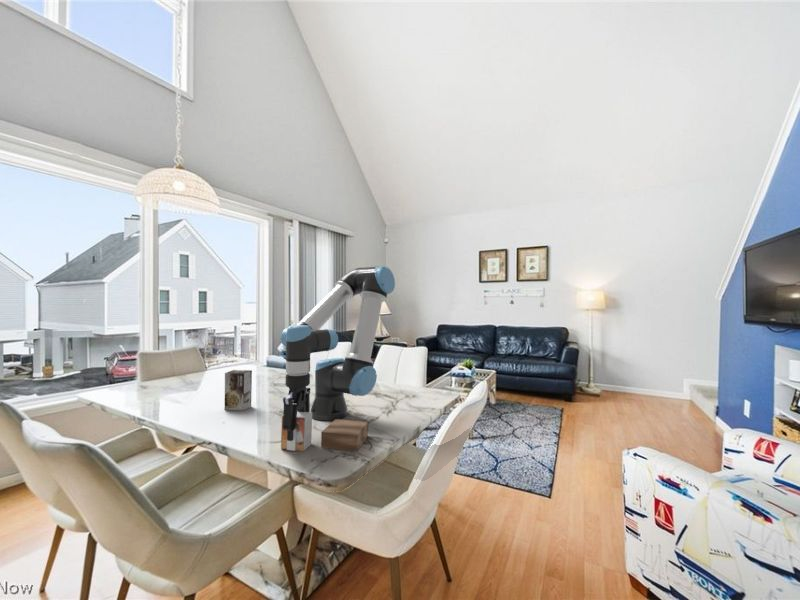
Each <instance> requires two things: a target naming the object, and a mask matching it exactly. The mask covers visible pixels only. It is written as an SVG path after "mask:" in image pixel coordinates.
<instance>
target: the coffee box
mask: <svg viewBox="0 0 800 600" xmlns="http://www.w3.org/2000/svg"><path fill="white" fill-rule="evenodd" d="M252 374H253V371H252V370H249V369H248V370H244V369H242V370H241V369H237V370H236V369H233V370H230V371H228V372H224V411H245V410H247V409H249V408H251V407H252V388H253V387H252V384H253V383H252V380H253V378H252V377H253V375H252Z"/></svg>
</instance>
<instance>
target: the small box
mask: <svg viewBox="0 0 800 600" xmlns="http://www.w3.org/2000/svg"><path fill="white" fill-rule="evenodd" d="M312 428H313V418H312V412H298V411H297V417H296V424H295V429H296V450H295V451H300V452H305V451H306V449H308V448H309V447H310V446H311V445H312V439H313V438H312V436H313V435H312V431H313V429H312ZM280 431H281V432H280V433H281V434H280V435H281V437H280V438H281V439H280V449H281V450H287V430H283V415H282V416H281V430H280Z"/></svg>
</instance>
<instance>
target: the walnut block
mask: <svg viewBox="0 0 800 600" xmlns="http://www.w3.org/2000/svg"><path fill="white" fill-rule="evenodd" d="M320 434H321V436H320V439H321V440H320V445H321V446H320V448H321V449H331V450H339V451H340V450H341V451H342V450H343V451H352V452H358V451H359V449H360V448H361V446H363V444H364V442H365V440H366V439H367V438H368V437H367V436H368V435H369V421H366V420H365V421H363V420H351V419H350V420H349V419H342V418H340V419H335V420H332V422H331V423H329V424H328V425H327V426H326V427H325V428H324V429H323V430H322V431H321V433H320Z"/></svg>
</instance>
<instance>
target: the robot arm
mask: <svg viewBox="0 0 800 600" xmlns="http://www.w3.org/2000/svg"><path fill="white" fill-rule="evenodd" d="M395 286H396V281H395V276H394V274H393V272H392V270H391V269H390V268H389V267H388V266H383V265H382V266H379V265H378V266H370V267H368V266H367V267H356V268H354V269H352V270H350V271H348V272H347V273H345V274H344V275H342V277H340V278H339V279H338V280H337V281H336V282H335V283H334V287H333V288H332V290H330V291H329V292H328V293H327V294H326V295H325V296H324V297H323V298H322V299H321V300H320V301H319V302H317V303H316V304H315V306H314V307H313V308H312V309H311V310H310V311H309V312H308V313H307V314H305V316H304V317H303V318H302V319H301V320H299V322H298V323H297V324H295V325H289V326H288V327H286V328H284V329H283V331H282V332H281V333H280V343H281V344H282V345H283V346H284V347H285V358H286V359H285V374H286V375H285V387H287V388H288V394H287V395H288V396H284V397H282V402H283V415H282V416H283V430H287V449H286V451H292V452H295V451H297V450H296V429H295V424H296V417H297V412H312V420H316V421H334V420H335V419H342V418H345V417H347V415H348V406H347V405H348V404H347V402H346V398H345V395H344V394H347V395H351V396H356V397H363V396H367V395H368V394H369V393H371V392H372V390H373V389H374V387H375V384H376V382H377V371H376V369H375V368H374V362H373V360H372V353H373V349H374V343H375V338H376V334H377V328H378V324H379V319H380V314H381V311H382V310H381V309H382V304H383V303H384V302H385V301H387V298H388V295H390V294H391V293H393V292H394V290H395ZM356 295H360V297H361V302H360V307H359V311H358V315H357V321H356V325H355V329H354V333H353V338H352V343H351V347H350V351H349V354H348V355H346V356H345V357H344V358H343V357H335V358H326V359H320V360H318V361H317V362H316V364H315V370H314V374H315V375H314V376H315V378H314V385H315V386H314V399H313V402H312V404H311V403H310V402H311V401H310V399H311V398H310V397H311V396H310V395H311V387H308V386H310V384H311V383H310V382H311V374H310V372H311V355H312V354H313V353H320V352H321V353H322V352H328V351H333V350H334V349H336V348H337V346H338V345H339V335H338V333H337V332H336V331H335V330H334V329H326V328H325V329H321V328H322V327H323V326H324V325H326V323H327V322H328V321H329V320H330V318H332V316H334V314H335V313H336V312H337V311H338V310H339V309H340V308H341V307H342V306H343V305H344V304H345V302H346V301H348V300H351V299H353V297H354V296H356ZM310 404H311V406H310Z"/></svg>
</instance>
